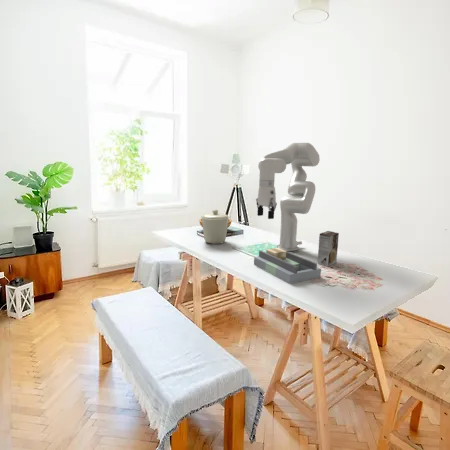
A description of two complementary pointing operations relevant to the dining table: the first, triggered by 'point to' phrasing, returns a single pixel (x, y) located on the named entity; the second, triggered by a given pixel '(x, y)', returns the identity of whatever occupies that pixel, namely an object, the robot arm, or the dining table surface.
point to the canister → (215, 227)
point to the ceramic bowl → (228, 222)
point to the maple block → (277, 253)
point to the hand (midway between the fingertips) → (265, 217)
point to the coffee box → (328, 248)
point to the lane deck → (288, 267)
